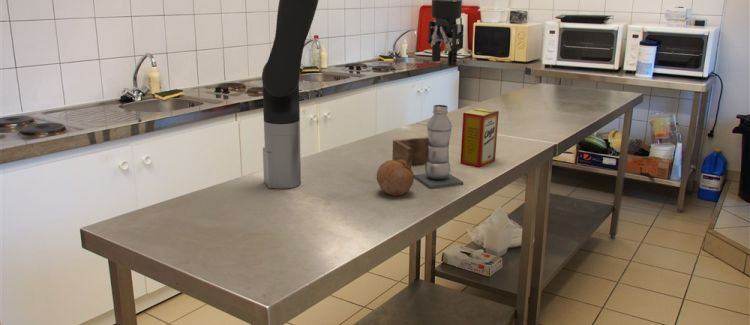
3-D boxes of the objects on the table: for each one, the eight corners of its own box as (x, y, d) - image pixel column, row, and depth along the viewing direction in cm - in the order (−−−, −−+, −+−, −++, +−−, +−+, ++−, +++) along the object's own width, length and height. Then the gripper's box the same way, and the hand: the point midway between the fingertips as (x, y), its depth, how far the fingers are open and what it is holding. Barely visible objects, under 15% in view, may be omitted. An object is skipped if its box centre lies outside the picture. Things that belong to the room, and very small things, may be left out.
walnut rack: (407, 176, 172) (408, 148, 170) (392, 166, 181) (392, 140, 179) (446, 172, 177) (447, 145, 175) (429, 162, 186) (431, 136, 184)
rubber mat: (430, 188, 163) (430, 185, 162) (413, 177, 171) (413, 175, 171) (463, 184, 166) (463, 181, 166) (445, 174, 175) (445, 171, 175)
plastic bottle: (448, 182, 165) (452, 109, 159) (423, 180, 166) (426, 107, 161) (450, 175, 171) (454, 104, 165) (426, 173, 172) (429, 103, 167)
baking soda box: (479, 168, 181) (483, 114, 177) (460, 163, 185) (463, 111, 181) (494, 161, 189) (498, 109, 184) (476, 157, 192) (479, 106, 188)
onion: (408, 203, 161) (426, 170, 158) (391, 204, 153) (410, 169, 150) (380, 183, 165) (398, 151, 163) (363, 183, 157) (381, 149, 154)
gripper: (420, -3, 160) (418, 60, 165) (447, -1, 147) (444, 67, 152) (446, -3, 163) (443, 59, 167) (474, -1, 150) (470, 66, 155)
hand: (443, 63), depth 160 cm, fingers open, 8 cm apart
